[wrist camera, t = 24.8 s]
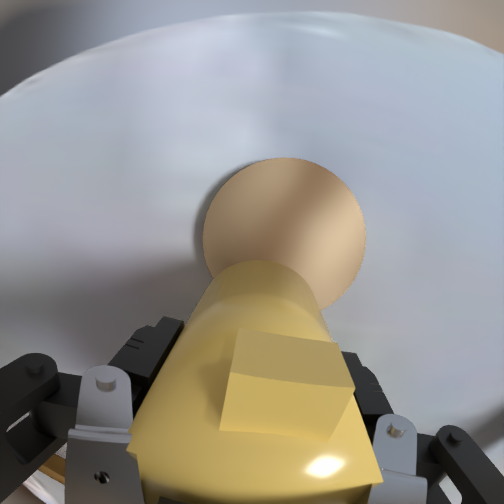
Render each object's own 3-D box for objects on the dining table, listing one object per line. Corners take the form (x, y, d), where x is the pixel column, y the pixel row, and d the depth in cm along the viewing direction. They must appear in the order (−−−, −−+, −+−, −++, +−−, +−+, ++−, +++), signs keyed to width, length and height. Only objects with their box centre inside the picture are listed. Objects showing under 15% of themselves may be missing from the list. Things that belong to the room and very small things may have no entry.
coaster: (378, 181, 15) (382, 181, 15) (337, 326, 17) (340, 330, 17) (221, 144, 15) (220, 142, 15) (193, 297, 17) (191, 301, 17)
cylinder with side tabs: (211, 227, 13) (74, 338, 3) (336, 251, 13) (469, 394, 3) (189, 406, 15) (140, 552, 5) (282, 423, 15) (287, 574, 5)
